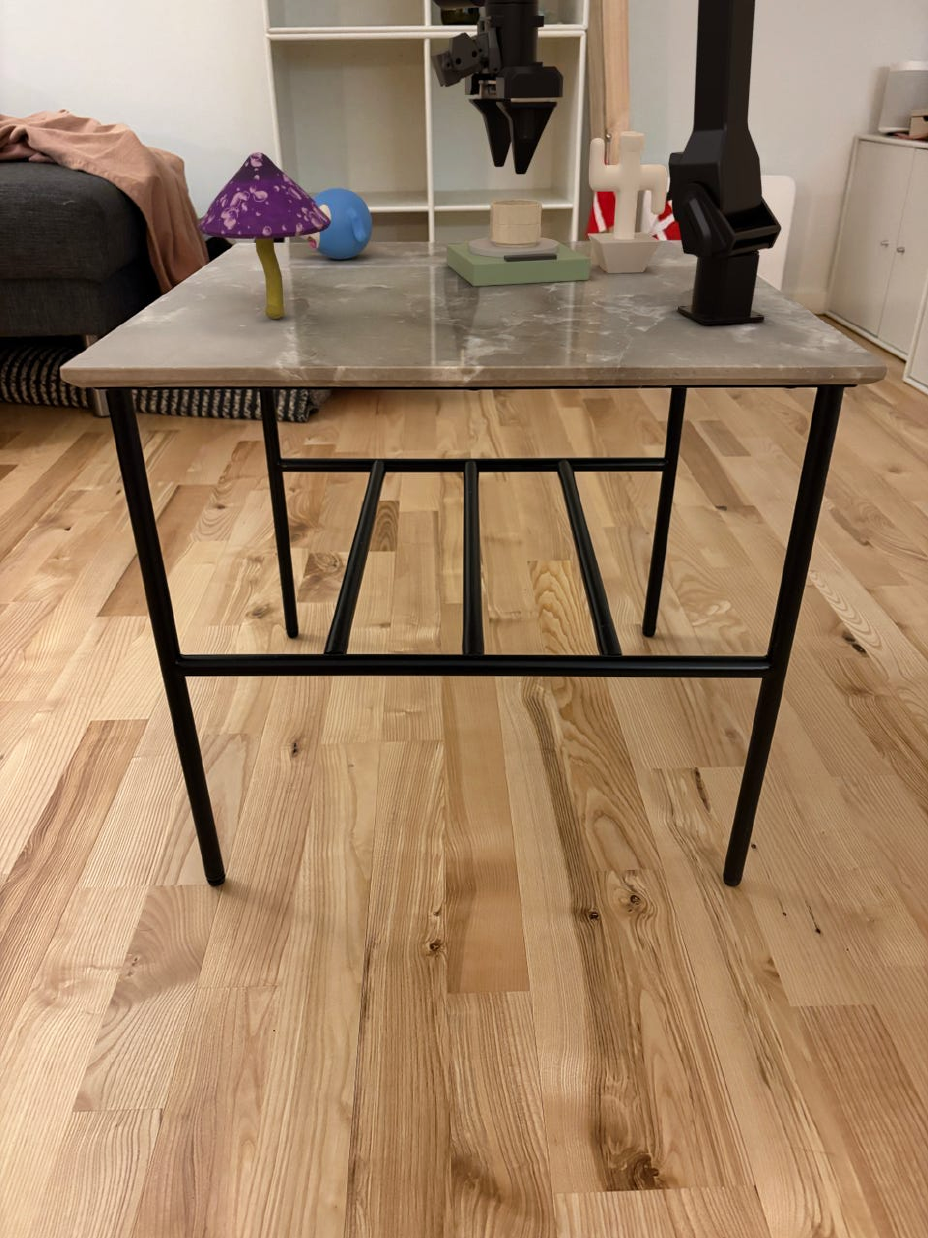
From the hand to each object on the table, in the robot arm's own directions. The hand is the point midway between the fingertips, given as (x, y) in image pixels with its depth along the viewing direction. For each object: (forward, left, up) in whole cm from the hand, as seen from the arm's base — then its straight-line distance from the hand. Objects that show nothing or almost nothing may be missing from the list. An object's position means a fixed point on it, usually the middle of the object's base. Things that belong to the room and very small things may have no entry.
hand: (509, 170), depth 104 cm
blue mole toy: (+16, +19, -12) cm, 28 cm away
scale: (+2, -2, -11) cm, 12 cm away
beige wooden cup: (+2, -2, -8) cm, 9 cm away
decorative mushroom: (-15, +28, -12) cm, 34 cm away
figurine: (0, -15, -12) cm, 19 cm away
